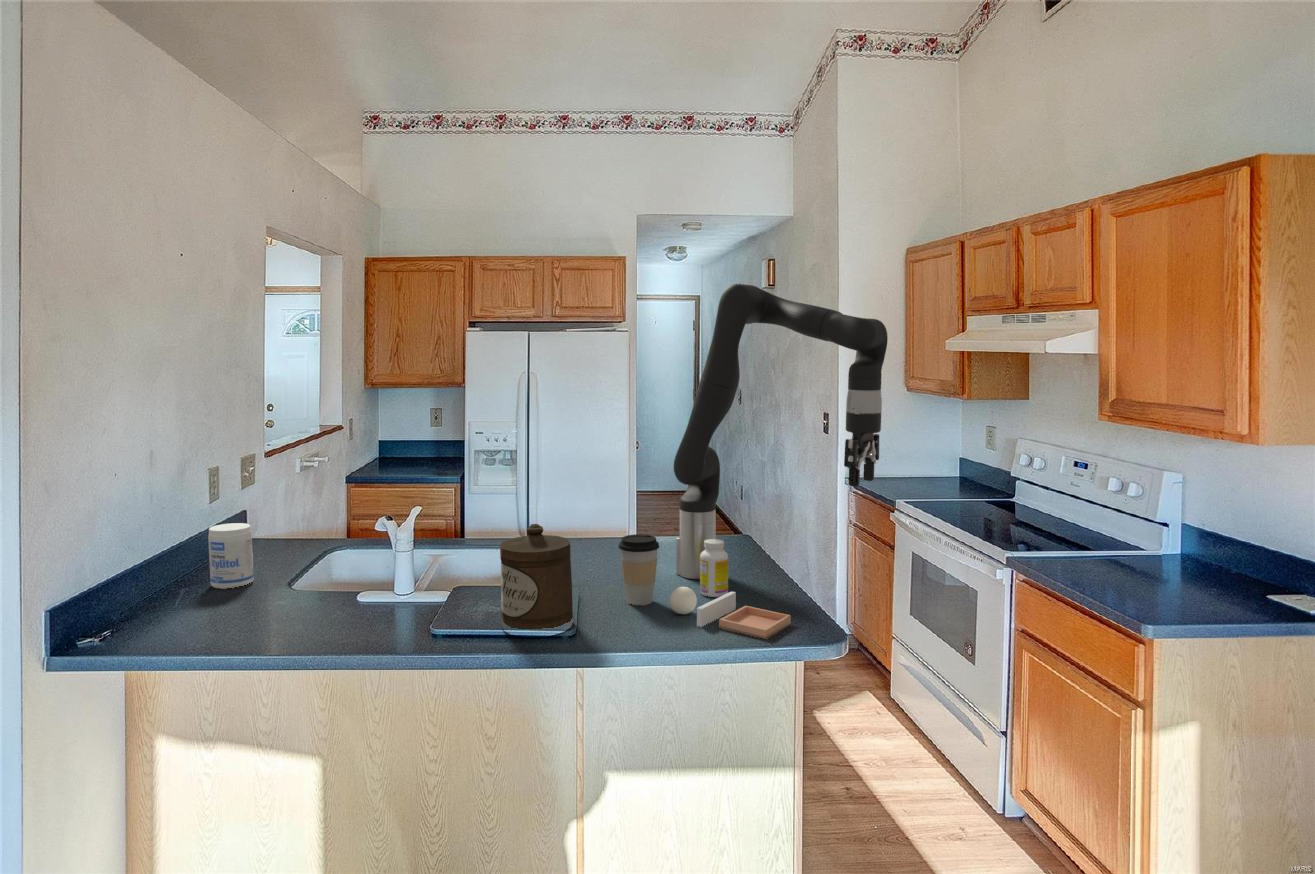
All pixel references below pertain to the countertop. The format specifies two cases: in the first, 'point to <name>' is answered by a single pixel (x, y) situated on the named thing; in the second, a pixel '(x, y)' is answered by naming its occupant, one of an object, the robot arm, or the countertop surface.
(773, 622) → the dish
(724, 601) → the wall
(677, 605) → the ball
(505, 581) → the wooden container
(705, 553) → the supplement bottle
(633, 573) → the coffee cup
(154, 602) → the countertop surface
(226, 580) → the supplement tub
